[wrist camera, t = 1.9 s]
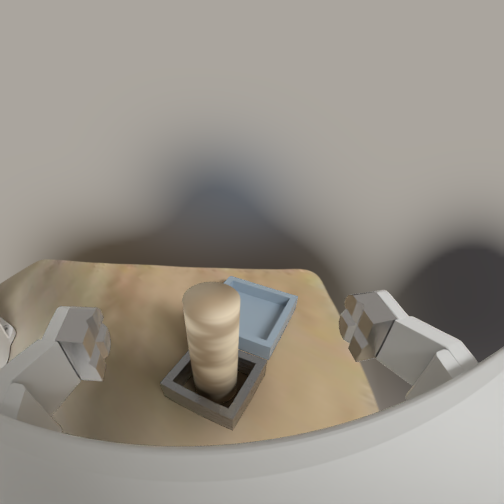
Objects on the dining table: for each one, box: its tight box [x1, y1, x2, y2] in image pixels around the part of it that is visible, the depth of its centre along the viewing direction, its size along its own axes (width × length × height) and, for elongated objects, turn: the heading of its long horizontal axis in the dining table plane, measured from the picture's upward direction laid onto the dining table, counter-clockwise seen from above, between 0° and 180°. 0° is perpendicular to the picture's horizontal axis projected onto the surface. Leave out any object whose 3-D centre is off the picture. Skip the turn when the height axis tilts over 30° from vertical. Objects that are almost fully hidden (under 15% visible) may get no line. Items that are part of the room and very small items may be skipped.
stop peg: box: [182, 282, 240, 404], centre depth 27 cm, size 5×5×14 cm
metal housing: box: [160, 350, 267, 430], centre depth 29 cm, size 9×9×3 cm
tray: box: [224, 276, 298, 360], centre depth 41 cm, size 12×12×2 cm
